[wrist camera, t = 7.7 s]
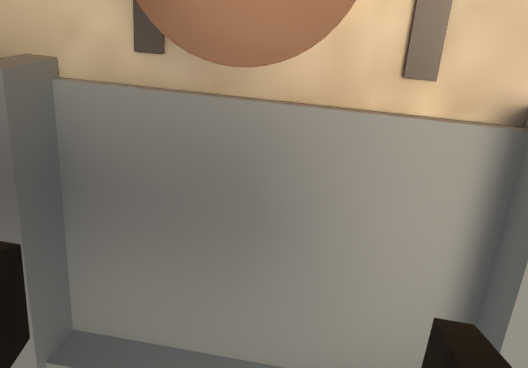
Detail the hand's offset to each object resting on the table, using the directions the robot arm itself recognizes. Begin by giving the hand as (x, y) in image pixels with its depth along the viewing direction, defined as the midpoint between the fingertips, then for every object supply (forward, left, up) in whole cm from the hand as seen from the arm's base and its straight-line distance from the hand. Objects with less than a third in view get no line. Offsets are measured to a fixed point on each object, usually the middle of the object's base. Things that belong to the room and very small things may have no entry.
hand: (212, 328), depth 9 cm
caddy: (+1, +4, -10) cm, 11 cm away
